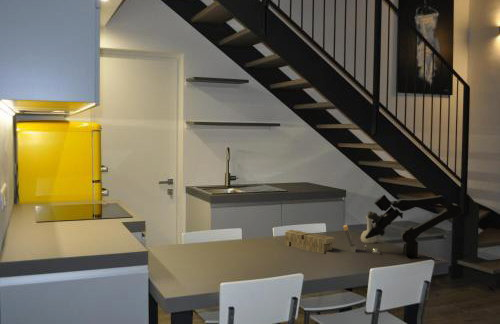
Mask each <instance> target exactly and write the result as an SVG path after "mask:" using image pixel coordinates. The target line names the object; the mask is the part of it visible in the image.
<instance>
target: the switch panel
mask: <svg viewBox="0 0 500 324" xmlns="http://www.w3.org/2000/svg"><path fill="white" fill-rule="evenodd" d="M353 245H354V246H355V247H354V246H349V247H350V253H356V244H355V243H353ZM360 250H364V248H360ZM364 251H365V250H364ZM366 251H372V253H371V254H372V255H377V256H378V255H379V256H381V251H379V248H375V247H374V248H372V249H370V248H367V250H366Z"/></svg>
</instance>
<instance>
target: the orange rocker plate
mask: <svg viewBox="0 0 500 324" xmlns="http://www.w3.org/2000/svg"><path fill="white" fill-rule="evenodd" d="M343 230H344V231H345V234H346V237H347V240H348V243H349V245H350V246H349V247H351V246H354V245H353V244H354V243H353V240H352V236H351V234H350V231H349V227H348V224H345V225H343ZM354 247H356V245H355V246H354Z"/></svg>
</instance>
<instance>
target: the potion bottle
mask: <svg viewBox="0 0 500 324" xmlns="http://www.w3.org/2000/svg"><path fill="white" fill-rule="evenodd" d="M369 212H370V211H368V212H367V215H366V216H365V218H366V220H367V221H366V230H363V231H362V233H361V235H360V241H361V242H362V243H366V244H375V243H376V242H377V240H378V239H377V236H374V237H371V238H368V239H366V238H365V237H366V235H367V234H368V232H369V231H370V229H371V224H372V222H371V221H372V219H369V218H368V217H367V216H368V214H369Z"/></svg>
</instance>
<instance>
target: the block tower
mask: <svg viewBox="0 0 500 324" xmlns="http://www.w3.org/2000/svg"><path fill="white" fill-rule="evenodd" d="M335 242H336V238H335V237H333V236H327V235H323V234H322V235H321V234H316V233H315V234H311V233H310V232H306V231H300V230H294V229H289V230H286V231H285V232H284V245H285V246H288V247H290V246H291V247H293V248H296V249H301V250H306V251H309V252H310V251H311V252H313V251H314V253H318V252H319V253H320V254H322V253H325V254H327V252H328V251H331V250H333V243H335Z"/></svg>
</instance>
